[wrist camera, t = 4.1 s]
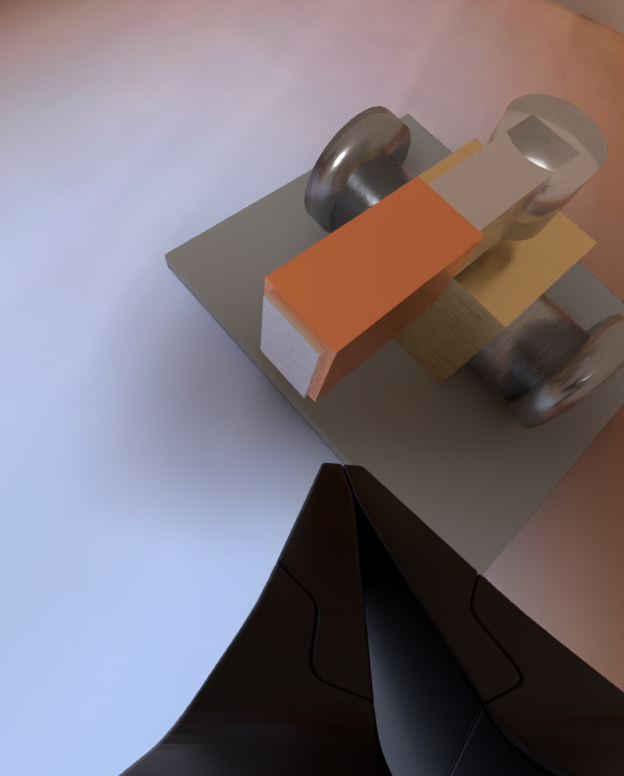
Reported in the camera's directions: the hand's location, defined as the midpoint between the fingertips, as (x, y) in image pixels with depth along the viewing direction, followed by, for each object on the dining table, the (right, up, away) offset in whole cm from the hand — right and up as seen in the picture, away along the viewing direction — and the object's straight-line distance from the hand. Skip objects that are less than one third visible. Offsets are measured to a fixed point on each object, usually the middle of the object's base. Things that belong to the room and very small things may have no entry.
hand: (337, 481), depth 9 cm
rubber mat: (+5, +5, +10) cm, 12 cm away
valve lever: (+3, +5, +3) cm, 7 cm away
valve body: (+5, +5, +10) cm, 12 cm away
